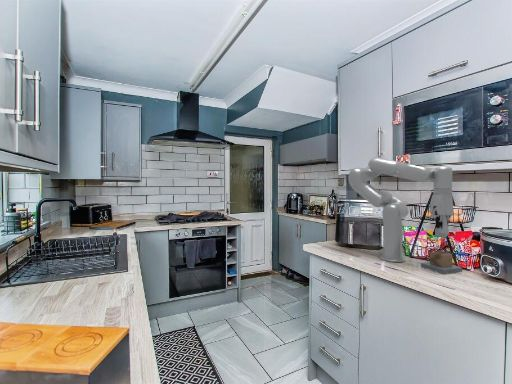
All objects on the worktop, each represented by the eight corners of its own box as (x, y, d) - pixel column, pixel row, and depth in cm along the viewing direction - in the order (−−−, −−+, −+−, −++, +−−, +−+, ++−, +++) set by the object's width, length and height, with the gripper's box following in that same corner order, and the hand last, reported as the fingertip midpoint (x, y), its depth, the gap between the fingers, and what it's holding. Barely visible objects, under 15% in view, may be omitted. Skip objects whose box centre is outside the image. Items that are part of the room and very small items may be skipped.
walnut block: (429, 264, 134) (430, 252, 134) (439, 262, 136) (439, 251, 136) (442, 267, 128) (442, 255, 128) (452, 266, 130) (452, 254, 130)
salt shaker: (431, 235, 133) (432, 209, 133) (439, 235, 135) (440, 209, 135) (443, 238, 128) (444, 211, 127) (451, 237, 130) (452, 210, 129)
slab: (420, 266, 136) (420, 263, 136) (437, 264, 140) (437, 260, 140) (444, 274, 124) (444, 270, 124) (462, 271, 128) (462, 267, 128)
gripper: (446, 191, 137) (446, 227, 138) (423, 192, 132) (422, 229, 132) (462, 192, 130) (461, 229, 131) (437, 192, 125) (437, 231, 125)
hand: (441, 229), depth 131 cm, fingers closed on salt shaker, 3 cm apart
